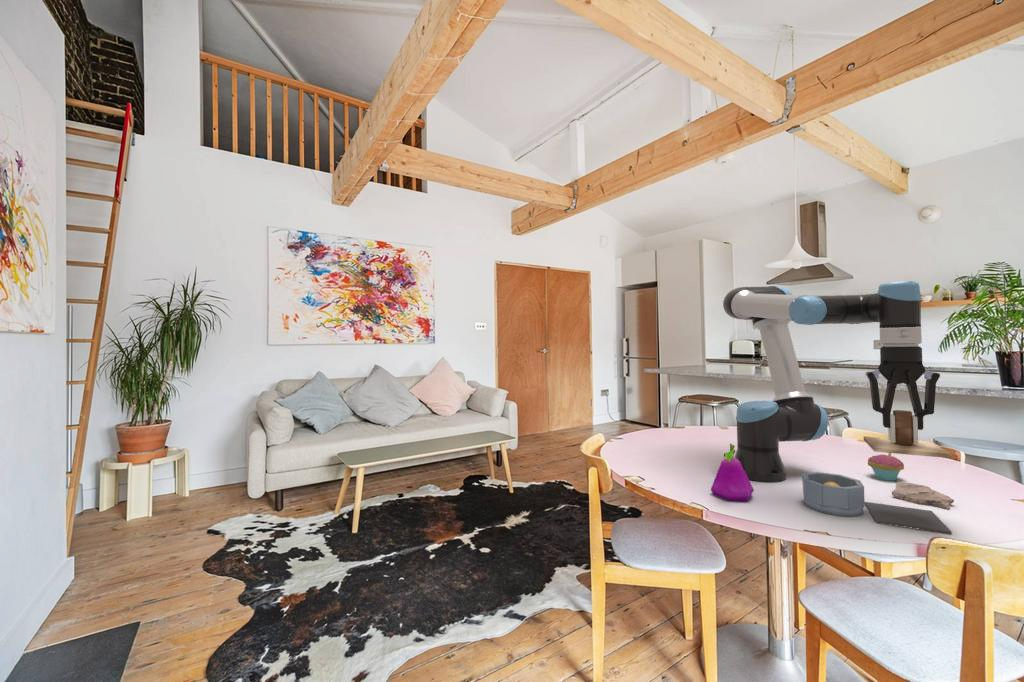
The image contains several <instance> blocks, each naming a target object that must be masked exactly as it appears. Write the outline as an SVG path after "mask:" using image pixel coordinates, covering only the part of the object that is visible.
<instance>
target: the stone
mask: <svg viewBox="0 0 1024 682" xmlns="http://www.w3.org/2000/svg"><path fill="white" fill-rule="evenodd" d="M894 487H895V488H894V490H892V491H891V495H892V496H893V498H895V499H897V500H901V501H905V502H908V503H912V504H917V505H920V506H921V505H926V506H931V507H936V508H939V509H943V510H950V509H951V508H950V507H951V505H952V504H953V503H954V502H955V499H954V498H951V497H950V496H948V495H946V494H944V493H941V492H938V491H937V490H934V489H932V488H931V487H930V486H928V485H923V484H917V483H911V482H903V481H898V482H896V483H895V486H894Z"/></svg>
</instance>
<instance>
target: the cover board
mask: <svg viewBox="0 0 1024 682" xmlns="http://www.w3.org/2000/svg"><path fill="white" fill-rule="evenodd" d="M892 414H893V415H894V416H895V442H896V443H894V442H890V441H889V437H880V436H879V437H877V436H867V435H866V436H864V435H863V441H864V442H865V443H866V444H867V446H869V448H870V449H871V450H872V451H874V453H875V452H876V453H884V454H885V453H886V454H888V453H891V454H895V455H896V454H897V455H910V456H919V457H921V456H923V457H933V458H943V459H944V458H945V459H951V453H950V452H949V451H947V450H945V449H943V448H942V447H941V446H939V445H938V444H936V443H934V442H933V441H931V440H919V439H918V444H913V431H912V415H913V411H911V410H901V409H894V410H892Z"/></svg>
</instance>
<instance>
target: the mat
mask: <svg viewBox="0 0 1024 682" xmlns="http://www.w3.org/2000/svg"><path fill="white" fill-rule="evenodd" d="M864 503H865V508H866V509H867V510H869V511H868V512H869V514H870V516H871V515H872V516H871V517H872V519H873V521H874V520H875V521H874V523H875V522H877V523H876V524H881V523H884V524H883V525H887V524H892V525H891V526H894V525H898V526H897V527H900V526H906V527H905V528H907V527H912V528H911V529H913V528H919V529H918V530H920V529H924V530H923V531H926V530H929V531H928V532H934V533H939V534H946V535H952V534H953V533H952V531H951V530H950V528H949V527H947V525H946V524H945V523H944V522H943V521H942V519H940V518H939V517H938V516H937V515H936V514H935V513H934V511H932V510H928V509H921V508H920V509H919V508H914V507H913V508H912V507H907V506H899V505H891V504H884V503H877V502H869V501H864Z"/></svg>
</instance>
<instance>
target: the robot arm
mask: <svg viewBox="0 0 1024 682" xmlns="http://www.w3.org/2000/svg"><path fill="white" fill-rule="evenodd" d="M921 296H922V295H921V290H920V284H919V282H917V281H914V280H908V281H907V280H905V281H904V280H903V281H893V282H892V281H891V282H884V283H882V284H880V285H879V286H878V290H877V292H875V293H868V294H850V295H849V294H847V295H846V294H845V295H842V294H840V295H808V294H807V295H804V294H799V295H798V294H793V293H792V292H791V290H790V289H788V288H785V287H784V286H776V285H769V286H742V287H736V288H734V289H731V291H728V293H726V295H725V296H724V299H723V301H722V307H723V310H724V312H725V313H726V315H728V316H729V317H731V318H733V319H736V320H751V321H752V324H753V328H754V329H757V330H759V333H760V337H761V341H762V346H763V350H764V354H765V358H766V362H767V366H768V371H769V374H770V378H771V382H772V387H773V391H774V395H775V396H774V398H773V400H752V401H747V402H743V403H741V404H739V405H738V406H737V408H736V416H735V421H736V438H737V439H736V440H737V441H736V442H737V445H736V446H737V449H736V451H735V454H734V457H735V458H736V459H738V460H739V461H740V463H741V465H742V467H743V469H744V471H745V473H746V475H747V477H748V479H749V481H755V482H765V483H768V482H769V483H775V482H781V481H785V480H786V478H787V470H786V468H785V466H784V463H783V461H782V457H781V455H780V451H779V450H780V449H779V448H780V447H779V446H780V445H779V442H807V441H816V440H818V439H820V438H822V437H823V436H824V435H825V433H826V432H827V430H828V426H829V418H828V414H827V411H826V410H825V408H823V406H821V405H820V404H817V403H815V400H814V398H813V395H810V394H809V393H807V392H806V388H805V385H804V380H803V377H802V374H801V373H802V372H801V370H800V366H799V362H798V359H797V354H796V350H795V348H794V343H793V339H792V337H791V331H790V327H789V323H790V322H794V323H795V324H798V325H804V326H805V325H807V326H811V325H812V326H814V325H829V324H833V325H835V324H840V325H841V324H842V325H844V324H846V325H847V324H849V325H854V324H855V325H859V324H869V323H870V324H871V323H879V344H880V345H882V346H881V347H880V349H879V351H880V352H879V353H880V354H879V359H880V360H879V361H880V362H879V363H880V364H879V365H878V366H877V369H874V370H871V371H866V372H865V376H866V377H867V379H868V381H869V388H870V395H871V405H872V410H874V412H877V413H881V414H882V426H883V427H884V428H886V429H888V431H887V432H888V438H889V441H890V442H894V443H896V442H895V416H894V415H893V413H891V412H892V408H893V404H894V403H893V402H894V398H895V392H896V389H897V386H898V385H901V384H905V386H906V389H907V391H908V396H909V399H910V402H911V406H912V407H911V408H912V412H913V414H912V431H913V444H918V440H919V431H923V430H924V417H925V416H929V415H933V414H935V404H936V403H935V401H936V387H937V382H938V380H939V379H940V378H941V374H940V373H937V372H934V371H930V370H927V369H926V367H925V366H924V364H923V347H922V346H919V345H921V344H922V343H923V342H922V341H923V339H922V338H923V337H922V323H921V322H922V315H921V314H922V313H921V312H922V304H921V303H922V297H921ZM880 375H882V377H883V378H884V379H885V380H887V382H886V387H885V388H886V389H885V394H884V399H883V404H882V406H881V398H880V396H881V395H880V389H879V382H878V379H879V378H880ZM923 375H924V378H923V379H925V388H924V400H923V401H924V402H923V403H924V404H923V406H922V401H921V399H920V398H921V397H920V395H919V390H918V384H917V381H918V380H919V379H920V378H921V377H922V376H923Z"/></svg>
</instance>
